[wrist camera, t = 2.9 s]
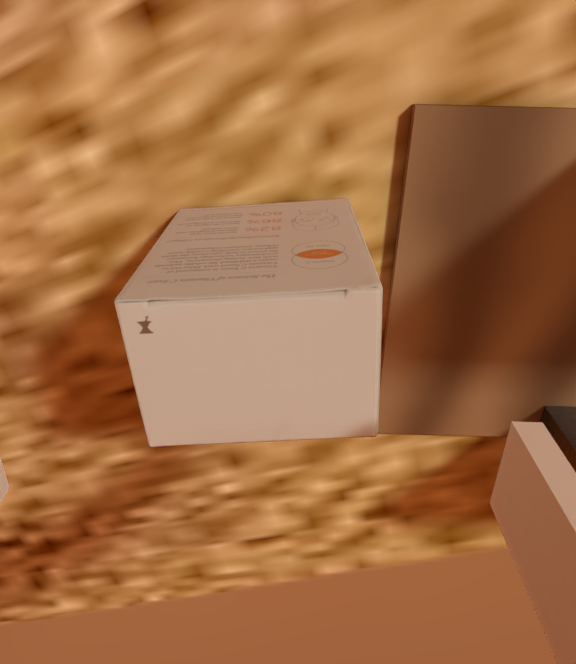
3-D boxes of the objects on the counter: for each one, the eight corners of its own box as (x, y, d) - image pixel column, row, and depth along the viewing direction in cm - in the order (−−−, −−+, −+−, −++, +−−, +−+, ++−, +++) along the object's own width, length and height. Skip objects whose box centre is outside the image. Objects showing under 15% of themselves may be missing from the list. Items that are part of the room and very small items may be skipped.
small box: (195, 313, 27) (141, 452, 18) (177, 204, 24) (103, 300, 15) (352, 306, 27) (381, 443, 17) (352, 195, 24) (385, 287, 15)
